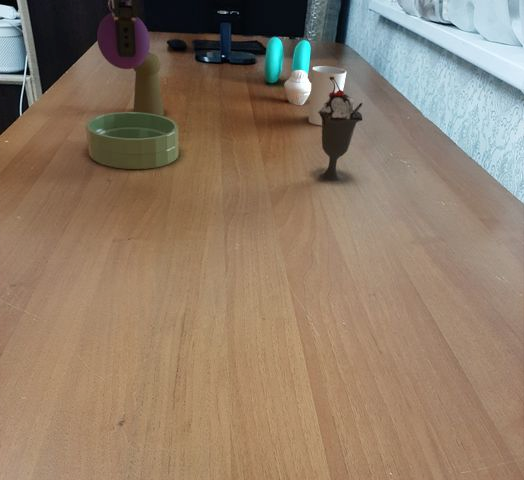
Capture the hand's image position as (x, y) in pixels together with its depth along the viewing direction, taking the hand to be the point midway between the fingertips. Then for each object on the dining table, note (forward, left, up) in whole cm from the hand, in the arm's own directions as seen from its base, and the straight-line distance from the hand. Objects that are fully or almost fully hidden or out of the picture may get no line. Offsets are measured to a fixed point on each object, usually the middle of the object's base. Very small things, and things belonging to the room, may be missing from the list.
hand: (124, 49), depth 72 cm
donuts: (+68, +31, -18) cm, 77 cm away
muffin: (+57, +18, -18) cm, 63 cm away
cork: (+24, +28, -18) cm, 41 cm away
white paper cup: (+50, +5, -18) cm, 54 cm away
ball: (0, 0, +1) cm, 1 cm away
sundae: (+27, -15, -18) cm, 36 cm away
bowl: (+8, +11, -18) cm, 23 cm away
